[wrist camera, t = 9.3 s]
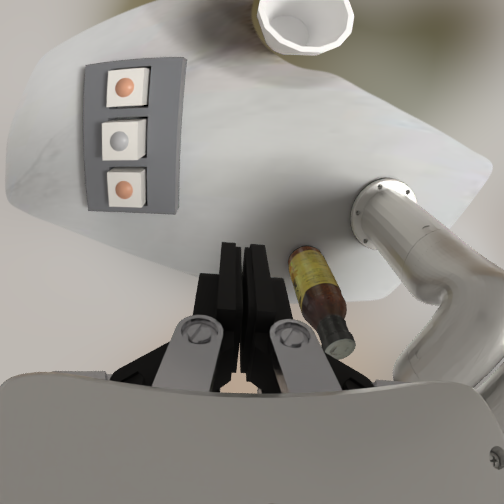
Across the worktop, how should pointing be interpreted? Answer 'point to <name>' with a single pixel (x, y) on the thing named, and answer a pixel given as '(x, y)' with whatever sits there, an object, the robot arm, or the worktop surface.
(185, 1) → the worktop surface
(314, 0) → the foam cup
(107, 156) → the plain key
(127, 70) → the dot key
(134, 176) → the dot key
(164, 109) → the slotted grey tray
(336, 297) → the sauce bottle
